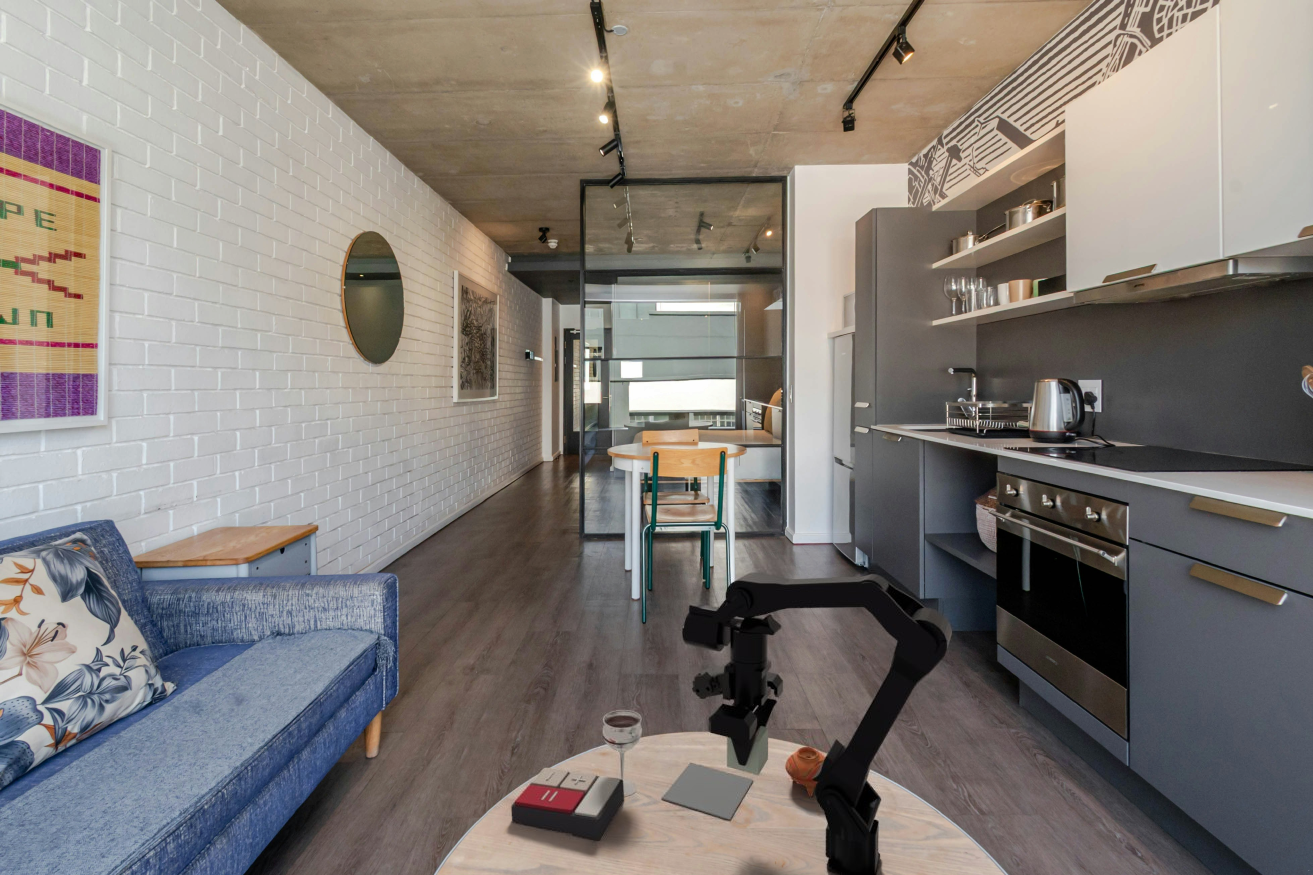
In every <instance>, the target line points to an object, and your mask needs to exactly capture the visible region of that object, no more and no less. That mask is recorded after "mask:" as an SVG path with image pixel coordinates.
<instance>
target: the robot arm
mask: <svg viewBox="0 0 1313 875" xmlns="http://www.w3.org/2000/svg"><path fill="white" fill-rule="evenodd" d="M828 608H830V609H832V608H833V609H835V608H838V609H839V608H841V609H842V608H843V609H844V608H864V609H865V610H866V611H867V612H869V614H870V613H871V615H872V616H873V617H874V618H875V619H876V621H878V623H879V625H881V627H882V628H883V629H884V630H885V632H887V633H888V634H889V635H890V636H891V637H892V638H893V639H894V640H896V642H897V643H896V646H895V648H894V652H893V656H892V660H891V663H890V667H889V670H888V671H887V674H886V675H885V676H884V677H885V678H884V680H883V681H882V683H881V684H880V686H879V688H878V689H877V691H876V693H875V694H874V697H873V699H872V701H871V703H870V704H869V706H868V707H867V709H866V711H865V713H864V715H863V716H862V719H861V721H860V722H859V724H858V726H857V727H856V729H855V731H854V733H853V734H852V736H851V738H850V739H849V740H848V741H847V742H846V743H844V744H843V743H841V742H840V741H839V740H838V738H835V740H834V741H833V743H832V745H831V746H830V749H829V750H828V751H827V753H826V755H825V759H824V761H823V762H822V764H821V766H820V768H819V769H818V771H817V773H816V775H815V776H814V778H813V781H816V782H817V784H816V786H815V787H814V790H813V795H814V797H815V800H816V802H817V803H818V805H819V807H820V808H821V810H822V811H823V814H824V817H825V820H826V822H827V823H826V824H827V825H826V828H825V852H824V853H825V857H826V858H828V860H827V863H826V870H827V871H829V872H831V873H834V874H837V875H878V872H879V866H880V861H881V853H879V832H880V831H879V828H880V827H879V825H880V824H879V820H878V819H875V818H876V816H877V813H878V810H879V807H880V804H881V801H882V797H881V796H880V794H879V793H878V792H877V791H876V790H875V789H874V788H873V786H872V785H871V784H870V783H869V781H868V777H869V776H870V775H869V774H870V771H871V767H872V763H873V760H874V758H875V756H876V754H877V753H878V751H879V749H880V748H881V746H882V744H883V742H884V740H885V739H886V738H887V735H888V733H889V732H890V731H891V729H892V726H893V725H894V723H895V721H896V720H897V718H898V716H899V715H900V713H901V711H902V710H903V708H904V706H905V704H906V703H907V701H908V699H909V697H910V696H911V694H912V692H913V691H914V689H915V687H916V686H917V685H918V684H919V683H920V682H921V681H922V680H924V679H925V678H926V677H927V676H928V675H930V673H931V672H932V671H933V670H934V669H935V667H937V665H939V663H940V662H941V661H942V660H943V659H944V658H945V656H946V653H947V650H948V648H949V645H950V641H951V638H952V635H953V629H952V627H951V623H950V621H949V620H948V618H947V617H946V616H945V615H944V614H943V613H941V612H940V611H939V610H936V609H933V608H931V607H926V606H924V604H922V603H921V602H920V601H918V600H917V599H916V598H914V597H913V596H911V595H910V594H908V593H906V592H905V591H903V590H901V589H900V588H898V587H896V586H894V585H893V584H892V583H890V582H889V581H888V580H887V579H886V578H884V577H883V576H882V575H879V574H874V573H871V574H868V575H864V576H863V575H862V576H861V575H860V576H840V577H839V576H838V577H818V578H817V577H814V578H794V579H793V578H785V577H782V576H778V575H776V574H770V573H763V572H762V573H761V572H749V573H747V574H744V575H743V576H741V577H740V578H737V579H736V580H734V581H732V582H730V584H729V585H728V586H727V588H726V591H725V600H724V601H723V602H722V603H721V605H720V606H712V605H706V604H704V603H702V602H697V601H695V602H693V603H692V604H690V605H688V613H687V615H686V617H685V620H684V623H683V626H682V628H681V632H682V633H681V634H682V640H683V642H684V645H686V646H690V647H694V648H700V649H704V650H709V651H714V652H721V651H723V649H724V648H725V647H729V649H730V650H729V662H727V663H726V665H721V666H714V667H710V668H705V669H702V670H701V671H700V672H698V673H697V674H696V675H695V676H694V678H693V680H692V685H693V686H692V687H691V690H692V693H694V694H695V695H696V696H697V697H698V698H699V699H700V700H706V699H707V698H709V697H715V696H720V695H722V700H725V701H731V700H732V701H733V703H732V704H726V703H722V704H720V705H719V706H718V707H717V708H716V709H715V710H714V711H713V712H712V714H711V715H710V716H709V717H708V731H709V733H710V734H713V735H716V736H721V737H725V738H727V737H729V738H731V741H732V744H733V747H734V750H735V754H736V757H737V760H738V764H739V765H742V766H746V764H747V761H748V759H749V756H750V754H751V751H752V748H753V746H754V743H755V740H756V738H757V735H758V733H759V730H760V727H761V726H763V727H768V726H767V725H768V723H769V722H770V719H771V716H772V714H773V712H774V710H775V708H776V706H777V704H778V701H777V699H773V698H771V697H770V695H771V694H772V692H771V691H772V690H773V695H774V697H775V698H778V699H779V698H780V696H781V695H782V694H783V692H784V680H783V679H782V678H781V676H780V675H779V674H778V673H775V672H769V671H770V669H771V668H772V661H771V660H768V644H769V643H768V638H769V636H774V635H776V634H777V632H779V631H780V630H781V629H782V625H781V624H780V623H779V621H777V620H776V619H775V618H774V617H773V615H772V614H771V613H775V612H778V611H782V610H787V609H828ZM760 616H765V617H764V618H762V617H760ZM736 617H737V618H736ZM769 697H770V698H769Z"/></svg>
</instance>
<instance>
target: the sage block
mask: <svg viewBox="0 0 1313 875" xmlns="http://www.w3.org/2000/svg"><path fill="white" fill-rule="evenodd" d="M768 760H769V727H768V726H766V727H763V726H761V727H760V730H759V733H758V735H757V738H756V740H755V743H754V746H753V748H752V751H751V754H750V756H749V759H748V761H747V764H746V766H742V765H739V764H738V760H737V757H736V754H735V750H734V747H733V744H732V741H731V738H729V737H726V767H727V768H730V769H733V770H737V771H741V772H745V773H748V774H752V775H756V776H760V774H761V772H762V770H763V768H764V767H765V765H766V764H767V762H768Z"/></svg>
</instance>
